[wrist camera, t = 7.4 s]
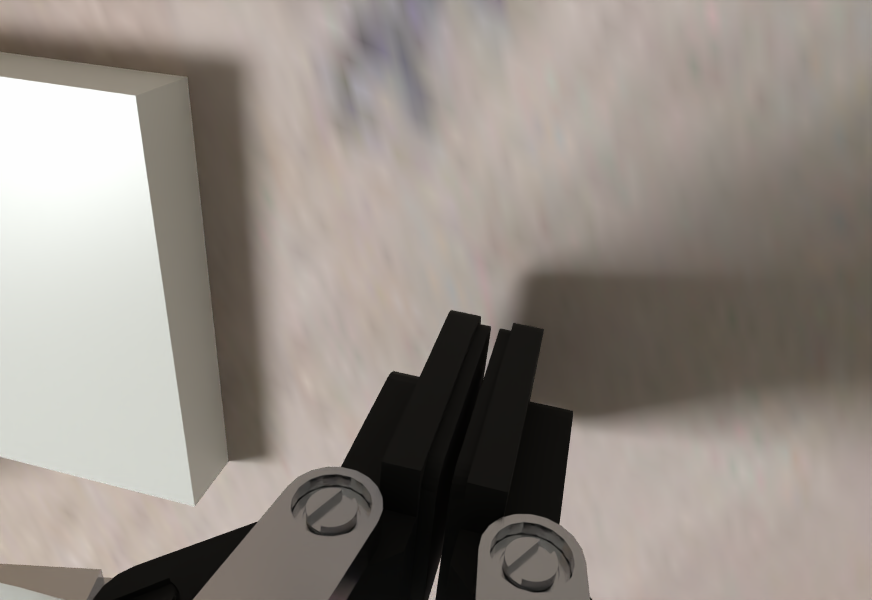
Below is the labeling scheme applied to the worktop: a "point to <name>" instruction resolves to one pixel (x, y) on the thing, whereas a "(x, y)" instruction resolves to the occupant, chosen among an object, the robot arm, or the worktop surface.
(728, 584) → the worktop surface
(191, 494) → the cutting board
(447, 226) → the worktop surface
